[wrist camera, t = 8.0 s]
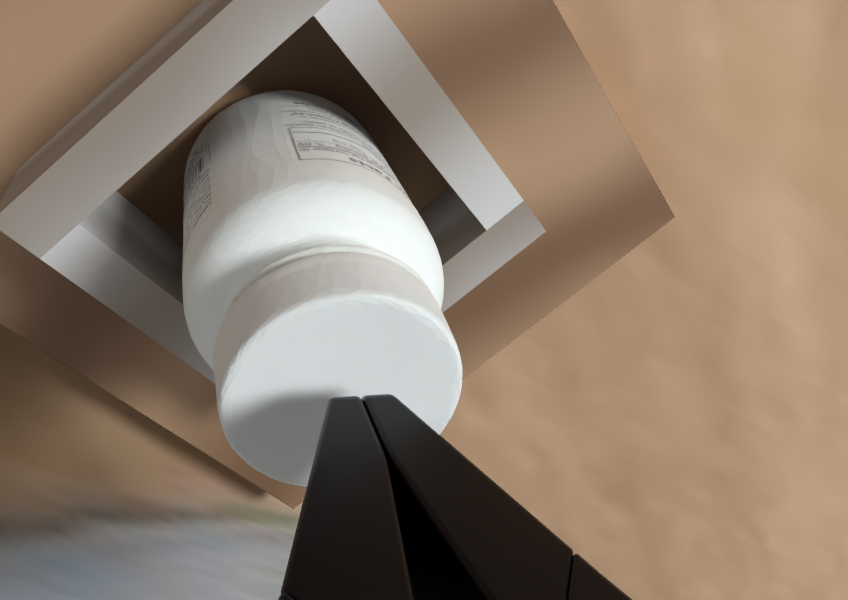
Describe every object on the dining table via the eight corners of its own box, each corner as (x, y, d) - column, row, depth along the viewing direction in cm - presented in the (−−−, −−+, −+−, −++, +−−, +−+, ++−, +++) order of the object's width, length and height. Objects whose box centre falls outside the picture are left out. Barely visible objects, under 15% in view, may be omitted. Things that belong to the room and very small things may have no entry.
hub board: (651, 199, 21) (730, 259, 18) (289, 480, 22) (303, 577, 19) (264, -468, 11) (291, -579, 8) (-287, 99, 13) (-425, 172, 10)
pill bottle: (248, 298, 17) (281, 556, 11) (141, 144, 15) (106, 365, 8) (409, 217, 17) (533, 428, 11) (330, 49, 15) (434, 201, 9)
